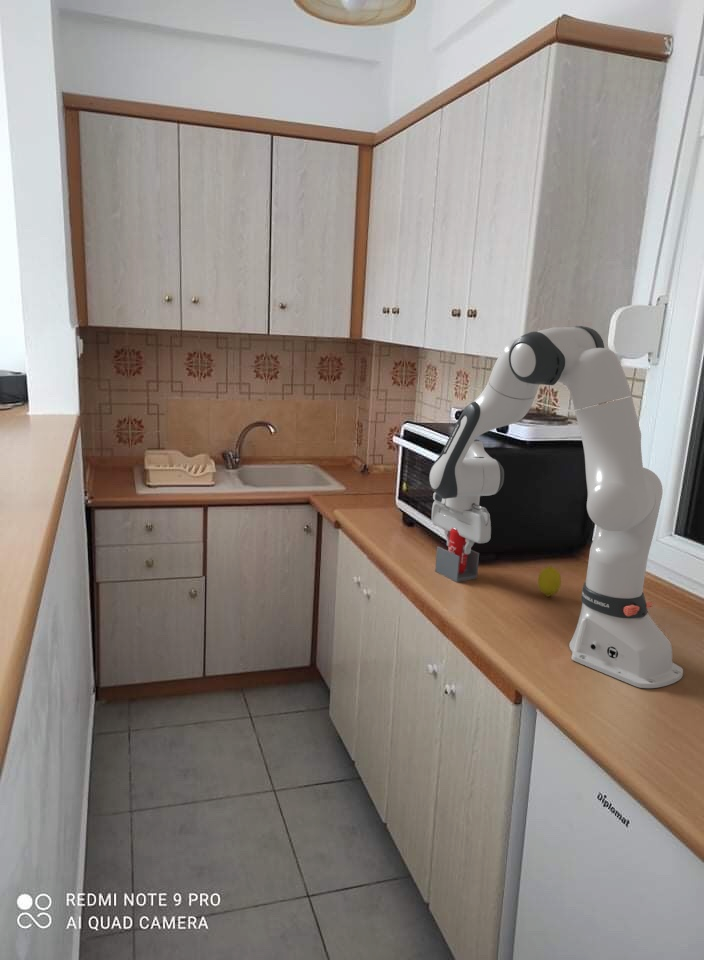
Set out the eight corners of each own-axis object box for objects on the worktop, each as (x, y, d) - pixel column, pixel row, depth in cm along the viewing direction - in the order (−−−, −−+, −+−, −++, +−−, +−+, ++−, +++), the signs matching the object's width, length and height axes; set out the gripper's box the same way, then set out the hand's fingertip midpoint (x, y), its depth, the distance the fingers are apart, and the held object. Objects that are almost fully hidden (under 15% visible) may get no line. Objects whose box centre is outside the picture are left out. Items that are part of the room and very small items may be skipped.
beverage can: (465, 575, 188) (470, 531, 186) (445, 572, 189) (450, 528, 187) (465, 569, 193) (470, 526, 191) (446, 566, 194) (451, 524, 192)
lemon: (552, 602, 176) (556, 571, 174) (532, 595, 179) (535, 565, 178) (562, 596, 180) (566, 566, 178) (542, 590, 183) (546, 561, 182)
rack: (476, 578, 190) (479, 553, 188) (456, 582, 186) (458, 556, 185) (455, 567, 197) (457, 543, 196) (435, 571, 194) (437, 546, 192)
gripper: (499, 508, 180) (494, 560, 183) (447, 490, 197) (443, 538, 200) (480, 510, 177) (475, 563, 180) (429, 492, 194) (425, 540, 197)
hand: (458, 549), depth 190 cm, fingers closed on beverage can, 5 cm apart
